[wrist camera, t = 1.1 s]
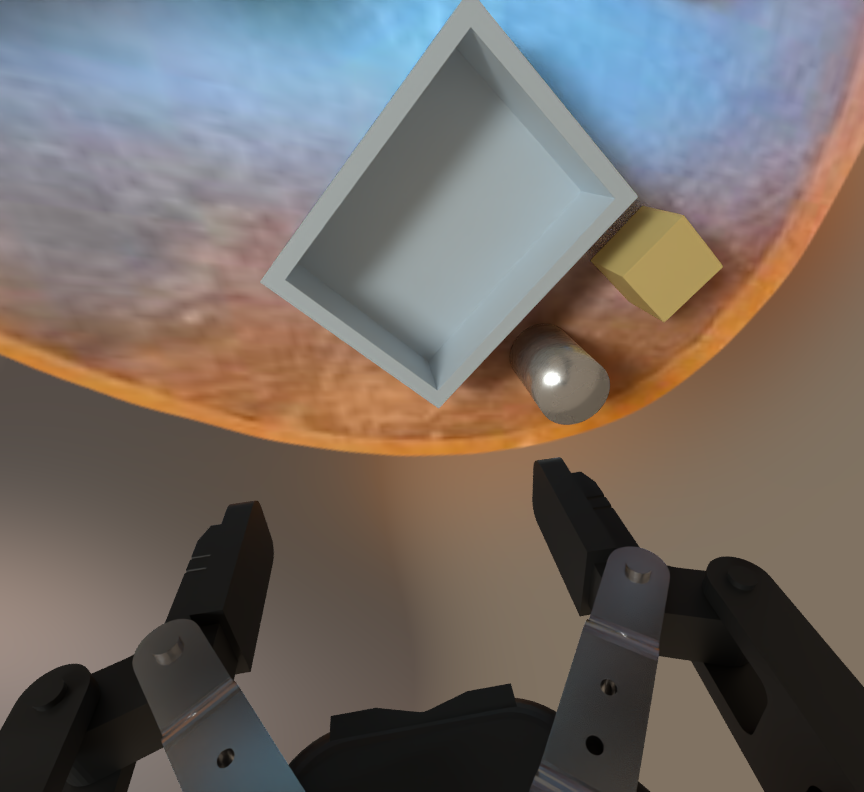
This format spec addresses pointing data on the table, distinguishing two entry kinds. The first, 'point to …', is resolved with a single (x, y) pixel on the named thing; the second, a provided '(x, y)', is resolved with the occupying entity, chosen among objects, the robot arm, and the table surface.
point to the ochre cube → (657, 261)
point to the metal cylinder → (559, 374)
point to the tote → (451, 212)
